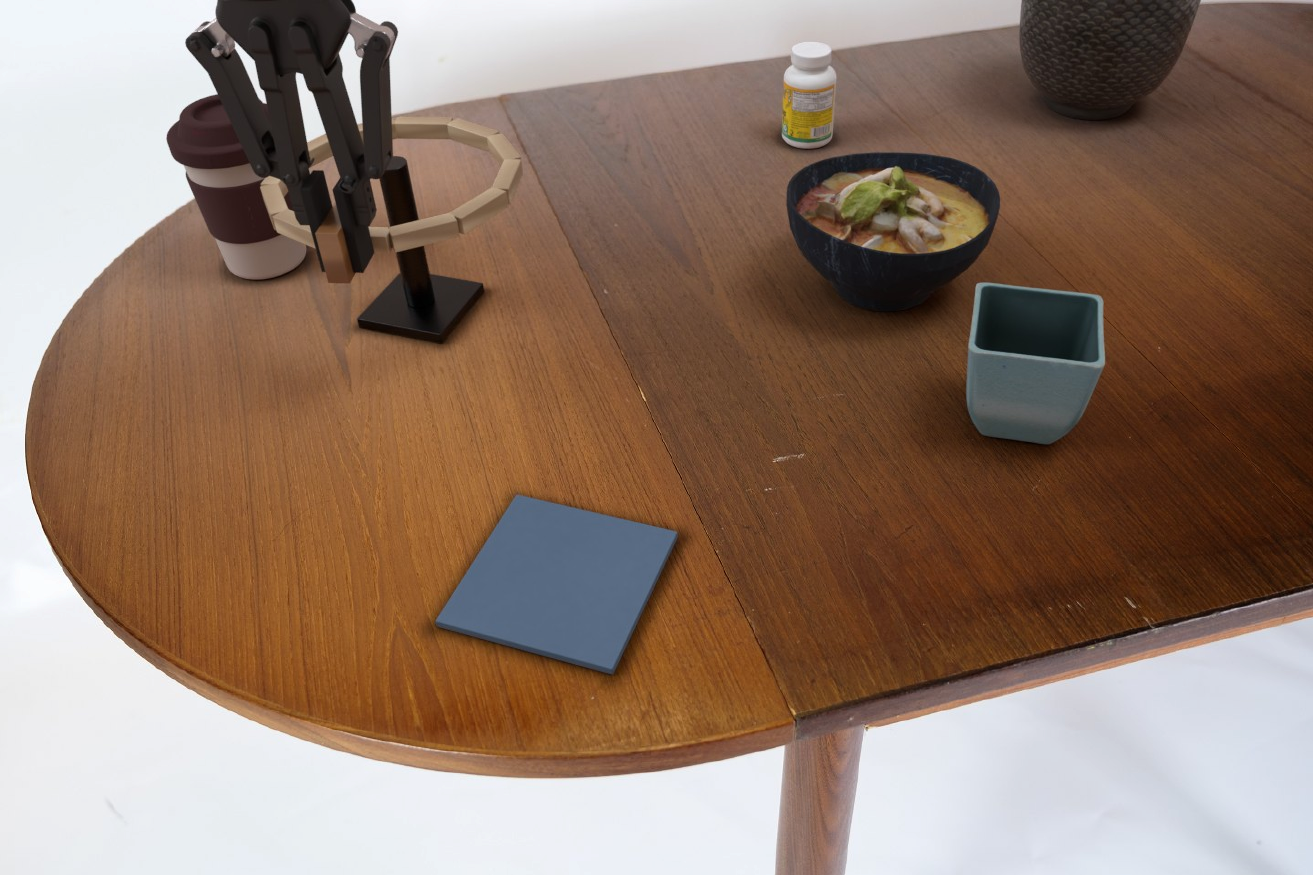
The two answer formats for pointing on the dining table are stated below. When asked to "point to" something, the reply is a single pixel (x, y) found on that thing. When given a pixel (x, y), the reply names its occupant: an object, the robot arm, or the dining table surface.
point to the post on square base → (415, 277)
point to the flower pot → (1032, 360)
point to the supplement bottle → (809, 96)
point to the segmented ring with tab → (412, 232)
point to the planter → (1101, 51)
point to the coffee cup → (230, 192)
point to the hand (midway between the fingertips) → (348, 261)
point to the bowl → (891, 223)
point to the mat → (560, 583)
